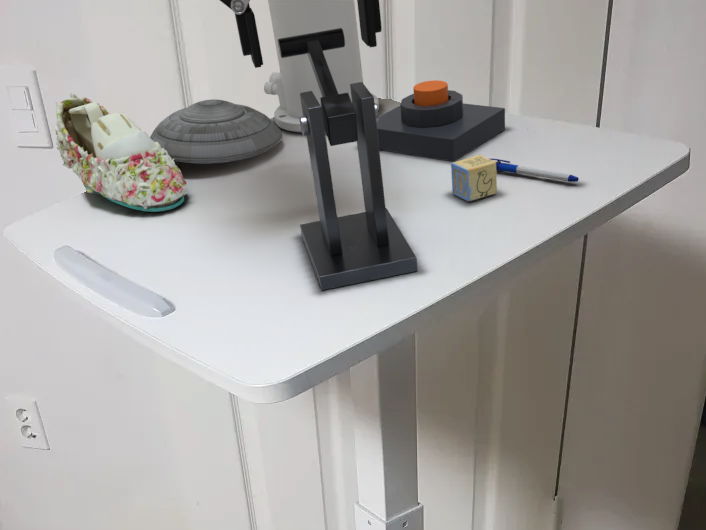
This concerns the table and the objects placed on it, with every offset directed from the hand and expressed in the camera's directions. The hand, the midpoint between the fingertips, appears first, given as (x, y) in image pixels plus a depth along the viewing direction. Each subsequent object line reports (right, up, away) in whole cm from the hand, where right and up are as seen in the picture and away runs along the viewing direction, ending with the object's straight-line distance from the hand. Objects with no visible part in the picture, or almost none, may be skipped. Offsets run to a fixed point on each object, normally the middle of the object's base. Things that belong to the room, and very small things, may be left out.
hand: (313, 53), depth 71 cm
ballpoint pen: (+20, -7, +10) cm, 23 cm away
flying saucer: (-13, +2, +25) cm, 28 cm away
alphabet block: (+15, -9, +8) cm, 19 cm away
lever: (+1, -5, -2) cm, 5 cm away
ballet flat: (-23, -3, +21) cm, 31 cm away
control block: (+12, +2, +21) cm, 24 cm away
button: (+11, +5, +18) cm, 22 cm away
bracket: (+4, -16, +1) cm, 17 cm away
